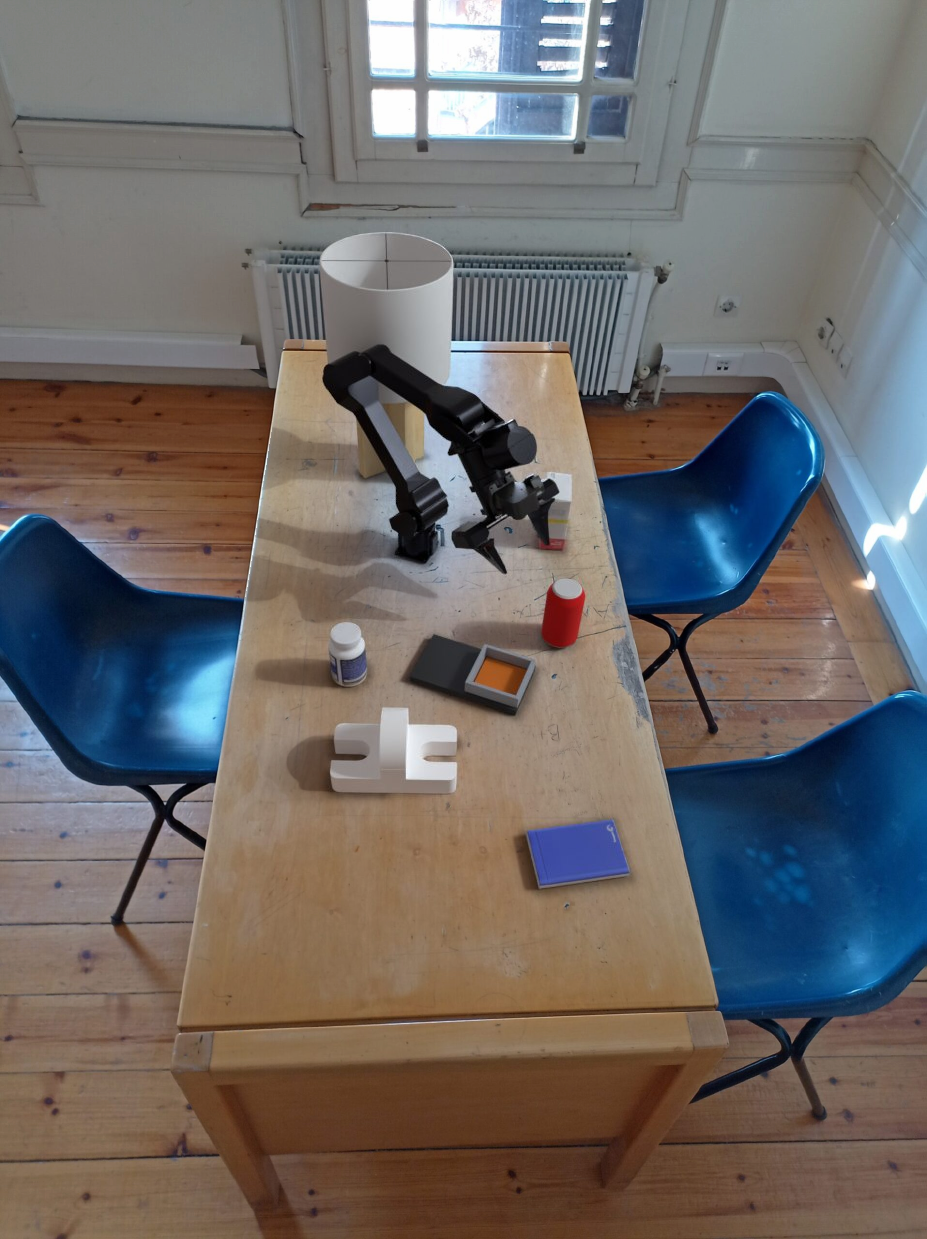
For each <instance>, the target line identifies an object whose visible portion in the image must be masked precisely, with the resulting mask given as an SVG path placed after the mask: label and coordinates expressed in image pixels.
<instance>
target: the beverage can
mask: <svg viewBox="0 0 927 1239" xmlns="http://www.w3.org/2000/svg"><path fill="white" fill-rule="evenodd" d="M585 601H586V592H585V590H584V588H583V587H582V584H581V583H580V582H579V581H577V580H575V579H572V578H570V577H569V578H568V577H562V578H559V579H558V578H557V579H556V580H555V581H554V582H553V583H552V584H550V586H549V587H548V588H547V591H546V598H545V604H544V609H543V615H542V622H541V629H540V630H541V631H540V633H541V637H542V639H543V640H544V642H545V643H546V644H547V645H549V646H551V647H553V648H556V649H566V648H569V647H571V646H573V645H574V644H575V643H576V641H577V640H578V637H579V634H580V633H579V632H580V629H581V628H580V627H581V621H582V617H583V612H584V608H585Z"/></svg>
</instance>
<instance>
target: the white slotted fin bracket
mask: <svg viewBox="0 0 927 1239" xmlns="http://www.w3.org/2000/svg"><path fill="white" fill-rule="evenodd" d="M381 709H382V710H381V716H380V723H355V722H354V723H352V722H351V723H350V722H342V723H338V725H336V726H335V728H334V736H333V743H334V744H333V745H334V753H335V754H336V755H362V756H364V757H365V756H366V757H365V758H363V759H360V760H337V759H336V760H335V759H334V760H333V759H331V760H330V767H329V768H330V769H329V774H330V781H331V788H332V790H333V791H334V792H336V793H365V794H366V793H368V794H369V793H371V794H425V795H427V794H428V795H429V794H430V795H431V794H432V795H433V794H435V795H450V794H453V793H454V792H455V791H456V789H457V781H458V778H457V777H458V762H456V761H454V762H453V761H452V762H450V761H428V760H426V759H425V758H426V757H430V756H436V757H437V756H439V757H440V756H443V757H444V756H445V757H446V756H447V757H456V756H457V746H458V730H457V728H456V727H455V726H454V725H452V724H451V725H450V724H413V723H411V724H410V721H409V719H410V718H409V716H410V715H409V707H393V706H391V707H389V706H383V707H382V708H381Z"/></svg>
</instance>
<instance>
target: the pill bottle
mask: <svg viewBox="0 0 927 1239" xmlns="http://www.w3.org/2000/svg"><path fill="white" fill-rule="evenodd" d="M329 636H330V639H329V643H328V656H329V665H330V672H331V677H332V680H333V681H334V682H335V683H336V684H337V685H339V686H341V687H346V688H347V687H349V688H350V687H355V686H358V685H360V684H361V683H363V682H364V681H365V679H366V678H367V674H368V664H367V652H366V650H367V649H366V641H365V640H364V638H363V637H362V630H361V628H360V627H359V625H357V624H355V623H354V622H349V621H344V622H339V623H337V624H335V625H334V626H333V627H332V629H331V630H330V634H329Z"/></svg>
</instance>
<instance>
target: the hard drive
mask: <svg viewBox="0 0 927 1239" xmlns="http://www.w3.org/2000/svg"><path fill="white" fill-rule="evenodd" d="M525 833H526V834H525V836H526V841H527V845H528V849H529V854H530V858H531V861H532V865H533V870H534V874H535V878H536V882H537V886H538V889H539V890H540V889H547V888H553V887H561V886H569V885H575V884H583V883H590V882H595V881H604V880H611V879H618V878H625V877H629V876H630V873H631V872H630V867H629V864H628V862H627V858H626V855H625V853H624V849H623V846H622V842H621V839H620V836H619V833H618V831H617V826H616V825H615V821H614V819H613V818H612V819H605V820H597V821H590V822H583V823H576V824H568V825H561V826H554V827H553V826H552V827H546V828H538V829H530V830H526V832H525Z"/></svg>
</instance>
